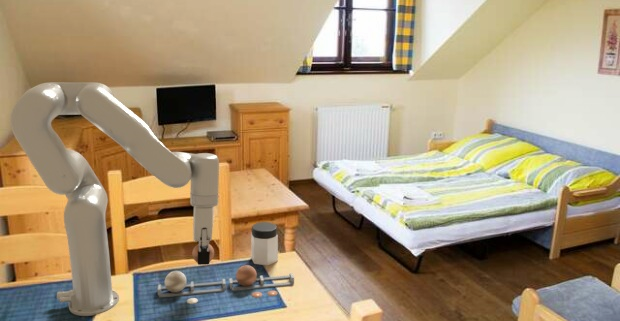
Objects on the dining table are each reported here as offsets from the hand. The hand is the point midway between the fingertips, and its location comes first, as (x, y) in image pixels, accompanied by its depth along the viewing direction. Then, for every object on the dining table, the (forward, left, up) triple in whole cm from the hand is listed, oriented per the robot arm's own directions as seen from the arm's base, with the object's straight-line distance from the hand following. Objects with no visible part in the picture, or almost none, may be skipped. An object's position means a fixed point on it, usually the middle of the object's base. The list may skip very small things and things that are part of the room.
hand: (203, 258), depth 144 cm
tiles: (+7, -6, -10) cm, 14 cm away
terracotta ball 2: (+12, 0, -10) cm, 15 cm away
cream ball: (-8, 0, -10) cm, 12 cm away
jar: (+20, +16, -10) cm, 27 cm away
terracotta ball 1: (0, 0, -1) cm, 1 cm away
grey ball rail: (+7, 0, -10) cm, 12 cm away
